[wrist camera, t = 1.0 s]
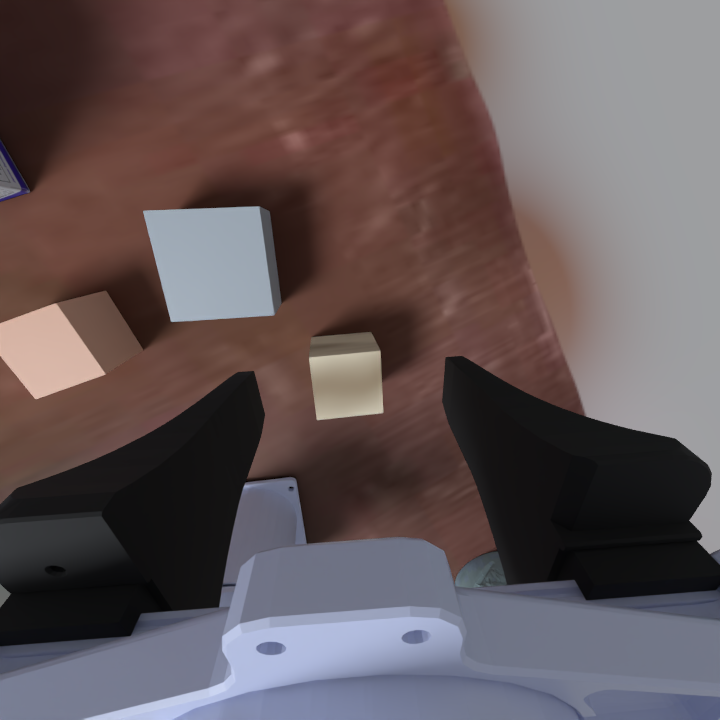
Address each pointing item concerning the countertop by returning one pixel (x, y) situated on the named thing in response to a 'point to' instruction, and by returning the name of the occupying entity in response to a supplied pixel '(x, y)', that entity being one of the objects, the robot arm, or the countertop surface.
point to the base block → (215, 262)
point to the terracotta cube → (67, 343)
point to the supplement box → (10, 177)
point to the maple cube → (346, 375)
